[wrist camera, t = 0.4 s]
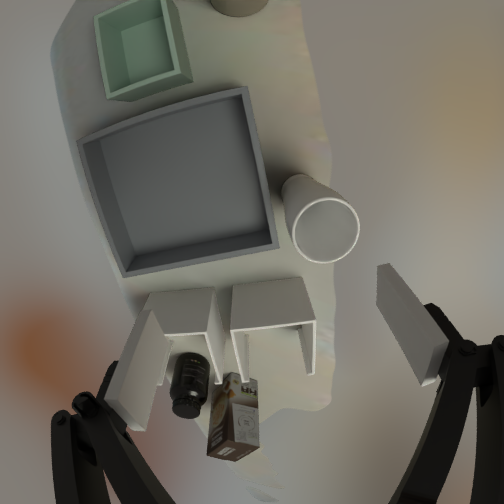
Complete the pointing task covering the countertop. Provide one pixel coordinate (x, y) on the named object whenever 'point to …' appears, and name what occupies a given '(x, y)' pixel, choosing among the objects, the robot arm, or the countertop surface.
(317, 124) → the countertop surface
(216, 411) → the coffee box
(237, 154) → the big crate
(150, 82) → the box
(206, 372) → the supplement bottle
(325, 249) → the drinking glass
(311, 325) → the white cubby shelf
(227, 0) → the travel mug
